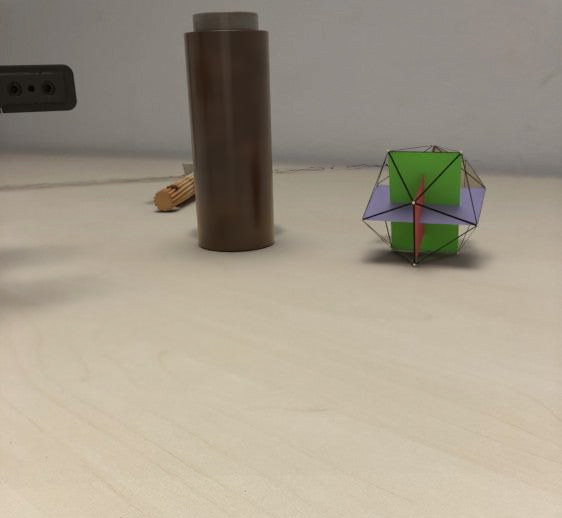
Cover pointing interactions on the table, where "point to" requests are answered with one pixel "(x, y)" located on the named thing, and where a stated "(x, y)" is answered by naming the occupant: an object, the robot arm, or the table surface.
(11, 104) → the robot arm
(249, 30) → the pepper mill
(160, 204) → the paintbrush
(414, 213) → the geometric puzzle
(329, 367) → the table surface
